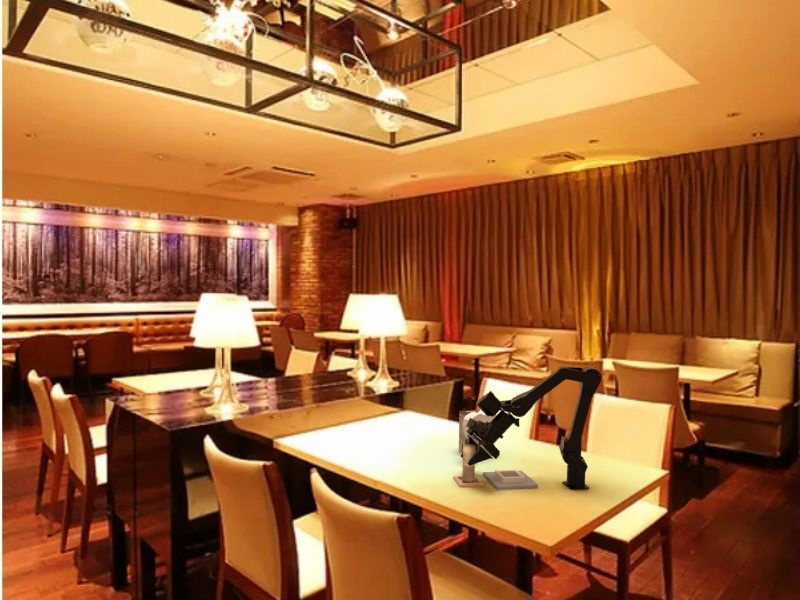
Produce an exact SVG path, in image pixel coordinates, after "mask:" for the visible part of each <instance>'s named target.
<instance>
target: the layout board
mask: <svg viewBox="0 0 800 600" xmlns="http://www.w3.org/2000/svg"><path fill="white" fill-rule="evenodd" d="M482 476H483V477H484V478H485V479H486V480H487V481H488V483H490V484H491V486H493V488H494V489H495V490H496V489H497V490H496V491H507V490H525V489H539V484H538V483H537V482H536V481H534V479H532V478H531V477H530V476H529V475H527V473H525V472H524V471H523V470H517V469H501V470H500V469H499V470H494V471H483V472H482Z"/></svg>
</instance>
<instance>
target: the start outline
mask: <svg viewBox="0 0 800 600" xmlns="http://www.w3.org/2000/svg"><path fill="white" fill-rule="evenodd" d="M452 479H453V480H454V481H455V483H456V484H457V485H458V487H459V488H466V487H467V488H469V487H473V488H474V487H485V483H484V482H483V481H482V480H481V478H479V476H478V475H477V474H475V479H474V481H476V482H474V483H462V481H461V480H462V475H453V476H452Z"/></svg>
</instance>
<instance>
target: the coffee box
mask: <svg viewBox="0 0 800 600" xmlns="http://www.w3.org/2000/svg"><path fill="white" fill-rule="evenodd" d="M480 410H481V409H475V410H459V411H458V412H459V413H458V414H459V417H458V421H459V422H458V452H459V453H460V454H461V453H462V452H463V445H466V444H467V442H468V439H467V438H466V436H465V434H464V431H463V420H464V418H465V416H466V415H468V414H469V413H471V412H476V413H478V412H479V411H480ZM475 452H476V451H475Z"/></svg>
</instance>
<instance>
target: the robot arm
mask: <svg viewBox="0 0 800 600" xmlns="http://www.w3.org/2000/svg"><path fill="white" fill-rule="evenodd" d="M602 378H603V376H602V374H601V372H600V371H599V370H598V369H597V368H595V367H594V366H591V365H588V366H587V365H586V366H584V367H576V366H575V367H574V366H566V365H560V366H559V367H558V368H557V369H556V370H554V371H553V372H552V373H551V374H549V375H548V376H547V377H546V378H544V379H542V380H541V381H540V382H539V383H538V384H536V385H535V386H533V387H532V388H530V389H528V390H526V391H524V392H521V393H519V394H517V395H516V396H514V397H512V398H511V399H506V400H500V399H499V398H498V397H497V396H496V395H495V394H494V392H493V391H492V390H490V391H488V392H487V393H486V394H485V395H482V396H481V397H480V398H479V399H478V401H477V402H476V403H475V405H476V407H477V408H478V409H479V410H482V411H483V412H484V413H485V414H486V415H487V416H492V417H493V416H495V415H496V416H495V417H494V418H493V419H492V421H491V422H490V423H489V422H488V421H487V422H485V423H484V422H482V421H480V420H479V421H477V420H474V419H472V418H470V419H469V421H468V423H467V425H466V427H468V428H469V429H468V430H467V431H466V432H467V433H468V434H469V435H468V434H467V437H468V442H467V444H470V445H474V446H475V451H476V452H475V453H474V455H473V456H472V457H471V459H470V460H469V462H468V463H467V464H468V465H469V466H471V465H474V464H476V463H479V462H482V461H485V460H488V459H492V457H493V458H494V459H495V460H497V458H499V457H500V455H501V453H500V452H501V451H500V449H498V448H497V446H496V444H495V443H496V442H497V441H498V440H499V439H501V440H502V439H503V438H504V436H503V435H504V434H505V433H506V432H507V431H508V430H509V429H510V428H511V427H512V426H513V425H514V426H516V427H517V428H519V427H520V426H521V425H520V418H523V417H525V416H526V415H527V413H529V412H530V411H531V410H532V408H533V407H534V405H535V404H537V402H538V401H539V400H540V399H541V398H543V397H544V396H546V395H547V394H549V393H550V392H551V391H552V390H554V389H555V388H556V387H557V386H559V385H560V384H562V383H563V382H564V381H566V380H567V381H573V382H576V383H579V385H578V386H579V394H578V396H577V401H576V406H575V409H574V412H573V416H572V419H571V424H570V428H569V432H568V434H567V435H566V437H565V436H563V435H562V436H561V439H560V445H559V446H558V449H559V451H560V455H561V458H562V460H563V461H564V463H565V464H566V480H563V481H562V484H563V485H564V486H566V487H567V488H568V489H570V490H572V491H573V490H574V491H575V490H589V489H590V487H589V486H588V484H586V472H587V470H588V463H587V462H586V460H585V458H584V457H583V456H582V449H583V448H582V438H583V433H584V430H585V426H586V422H587V418H588V414H589V410H590V408H591V403H592V400H593V397H594V395H595V394H596V392H597V390H599V387H600V385H601V382H602V381H603V380H602ZM481 445H482V447H481ZM460 458H461V459H463V452H462V454H461V453H460ZM492 460H493V459H492ZM485 462H486V461H485ZM482 463H483V462H482ZM479 464H480V463H479ZM476 465H477V464H476Z"/></svg>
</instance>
